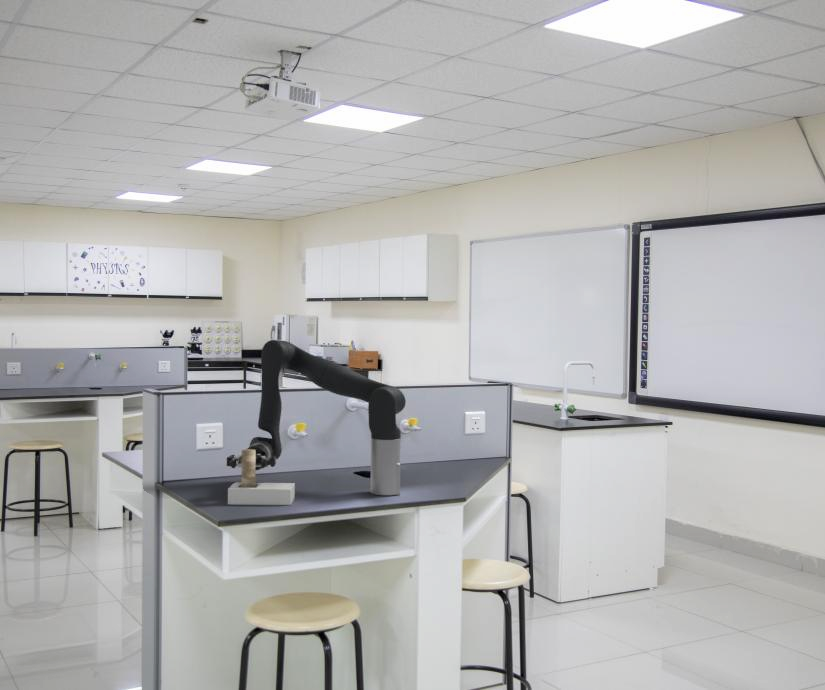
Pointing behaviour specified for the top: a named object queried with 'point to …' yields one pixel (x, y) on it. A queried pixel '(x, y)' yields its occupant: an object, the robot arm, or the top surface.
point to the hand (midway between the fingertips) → (247, 464)
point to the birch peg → (248, 468)
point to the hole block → (262, 494)
